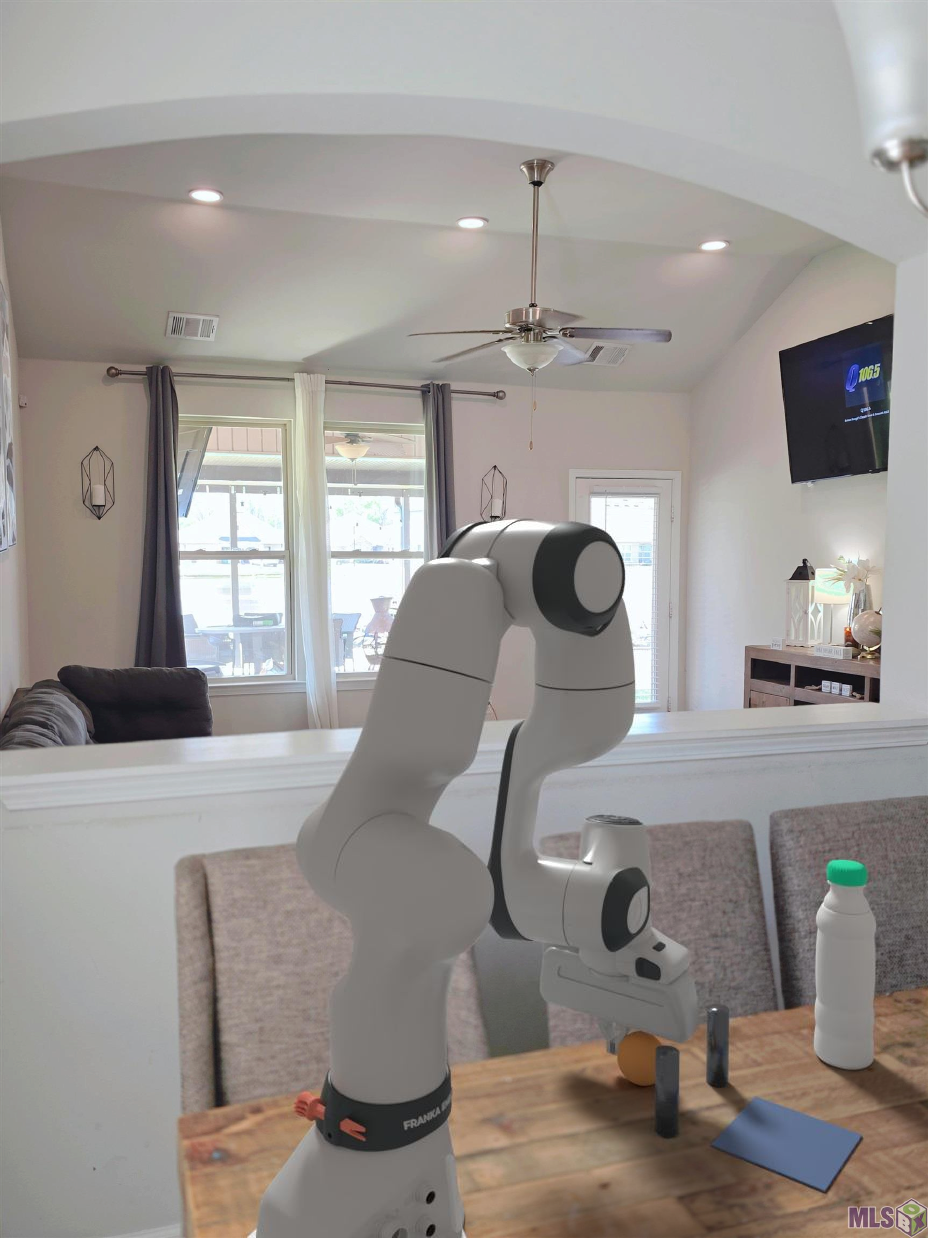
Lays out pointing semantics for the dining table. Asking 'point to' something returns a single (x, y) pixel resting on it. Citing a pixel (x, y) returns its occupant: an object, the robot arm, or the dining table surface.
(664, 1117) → the near post
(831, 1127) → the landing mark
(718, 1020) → the far post
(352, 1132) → the robot arm
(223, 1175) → the dining table surface
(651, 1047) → the ball
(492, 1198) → the dining table surface
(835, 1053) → the water bottle
